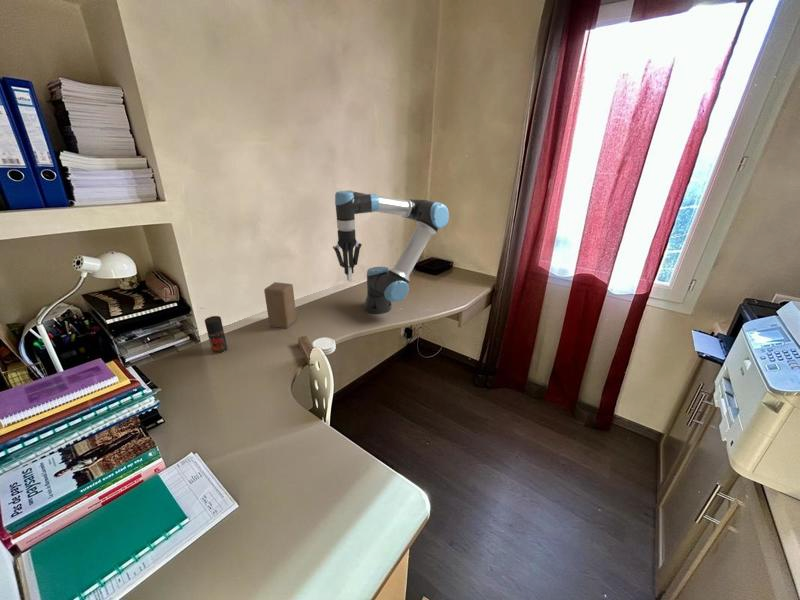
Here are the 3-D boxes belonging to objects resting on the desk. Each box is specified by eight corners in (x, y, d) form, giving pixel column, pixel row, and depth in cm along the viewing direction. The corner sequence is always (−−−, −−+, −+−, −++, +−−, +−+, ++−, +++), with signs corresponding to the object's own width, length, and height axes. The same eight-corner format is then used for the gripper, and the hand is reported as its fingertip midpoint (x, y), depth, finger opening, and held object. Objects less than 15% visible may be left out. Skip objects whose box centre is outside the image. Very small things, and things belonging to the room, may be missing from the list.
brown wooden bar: (307, 342, 152) (306, 335, 150) (318, 363, 138) (318, 355, 136) (298, 344, 150) (297, 337, 149) (308, 365, 136) (308, 358, 134)
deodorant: (208, 352, 143) (201, 321, 137) (220, 345, 148) (213, 314, 142) (219, 355, 141) (212, 323, 135) (230, 348, 146) (224, 317, 140)
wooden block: (287, 329, 162) (282, 291, 154) (268, 326, 164) (263, 288, 156) (297, 319, 171) (293, 283, 163) (279, 317, 173) (274, 281, 165)
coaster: (307, 352, 145) (306, 345, 143) (321, 341, 153) (320, 335, 152) (327, 358, 141) (326, 351, 140) (340, 346, 150) (339, 340, 148)
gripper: (356, 225, 150) (359, 275, 160) (328, 229, 144) (333, 280, 154) (363, 229, 144) (366, 280, 154) (335, 232, 138) (339, 286, 148)
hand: (349, 280), depth 154 cm, fingers closed
